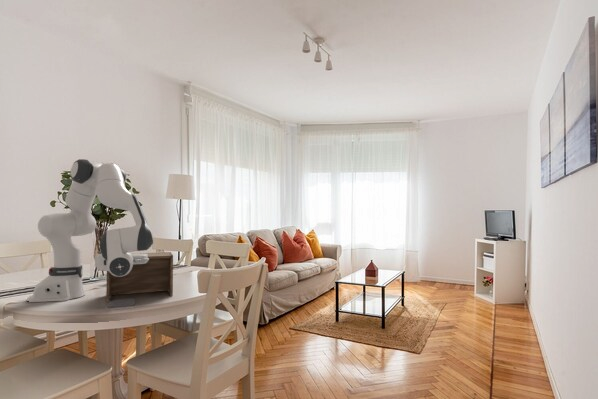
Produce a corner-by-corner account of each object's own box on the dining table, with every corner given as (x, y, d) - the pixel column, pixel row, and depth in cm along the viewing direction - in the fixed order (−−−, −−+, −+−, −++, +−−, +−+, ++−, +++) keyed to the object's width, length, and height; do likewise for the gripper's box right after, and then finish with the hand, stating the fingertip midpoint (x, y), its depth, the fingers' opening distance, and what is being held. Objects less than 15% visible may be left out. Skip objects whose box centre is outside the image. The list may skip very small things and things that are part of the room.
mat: (108, 307, 158) (108, 306, 158) (109, 302, 168) (109, 300, 168) (134, 305, 162) (134, 303, 162) (134, 300, 171) (134, 298, 171)
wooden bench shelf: (172, 295, 180) (173, 255, 180) (106, 301, 169) (106, 258, 169) (170, 289, 194) (170, 252, 194) (108, 294, 183) (109, 254, 183)
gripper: (149, 252, 158) (148, 249, 170) (93, 254, 150) (96, 251, 162) (149, 267, 158) (148, 263, 170) (93, 270, 150) (96, 266, 162)
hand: (122, 257), depth 166 cm, fingers closed on block, 4 cm apart
